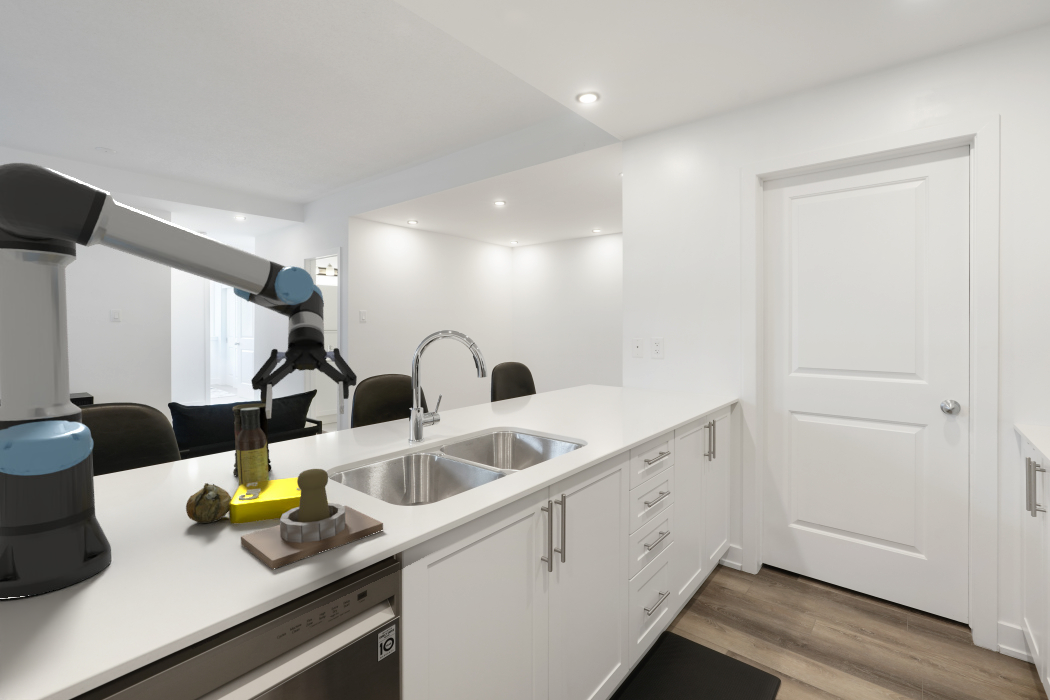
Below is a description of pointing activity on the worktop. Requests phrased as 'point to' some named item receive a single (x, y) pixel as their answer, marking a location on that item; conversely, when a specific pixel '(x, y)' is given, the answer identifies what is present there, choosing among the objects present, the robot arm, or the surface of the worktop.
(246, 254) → the robot arm
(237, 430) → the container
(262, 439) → the sauce bottle
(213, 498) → the onion
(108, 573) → the worktop surface
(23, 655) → the worktop surface
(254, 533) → the ring stand
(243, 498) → the element tile
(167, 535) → the worktop surface
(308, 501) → the cork
